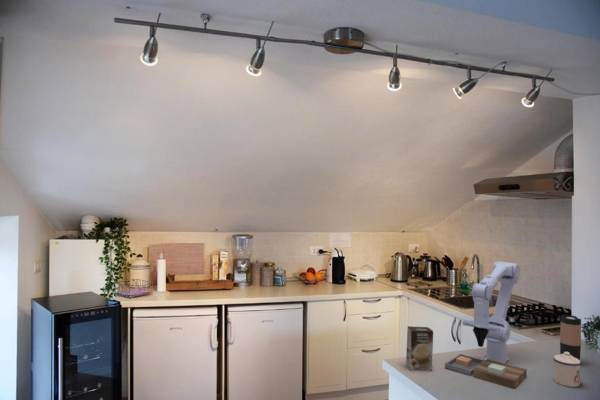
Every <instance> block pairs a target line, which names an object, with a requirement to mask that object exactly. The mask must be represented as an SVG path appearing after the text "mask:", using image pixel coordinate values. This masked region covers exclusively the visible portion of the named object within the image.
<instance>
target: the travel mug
mask: <svg viewBox="0 0 600 400" xmlns="http://www.w3.org/2000/svg"><path fill="white" fill-rule="evenodd" d="M559 327H560V328H559V329H560V330H559V331H560V332H559V333H560V334H559V335H560V336H559V349H560V350H559V355H560V354H564V352H569V353H570V355H571V356H573V357H574V358H577V359H578V360H580V361H581V348H582V347H581V345H582V318H579V317H577V316H576V315H571V314H561V315H560V326H559Z"/></svg>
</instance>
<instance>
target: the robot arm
mask: <svg viewBox="0 0 600 400" xmlns="http://www.w3.org/2000/svg"><path fill="white" fill-rule="evenodd" d="M492 267H493V268H492V272H491V273H490V274H487V275H485V277H483V278H482V280H480V282H479V283H475V284H473V285H472V288H471V295H472V301H473V320H467V319H464V320H462V326H467V327H470V328H471V327H472V328H473V329H472V332H473V334H474V336H475V338H476V342H477V346H478V347H480V348H483V347H484V345H485V341H486V356H485V357H483V359H482V360H483V361H485V360H486V359H490V360H494V361H498V362H501V363H505V364H507V362H508V361H509V360H510V358H509V357H507V355H508V354H507V352H508V348H507V347H508V346H507V342H509V340H510V337H511V325H510V323H509V322H508V321H507V320H506V317H507V314H508V309H509V305H510V300H511V298H512V292H513V288H514V285H516V284H518V281H519V278H520V275H521V267H520V264H519V263H517V262H516V263H515V262H506V261H498V260H496V261H495V262H494V263H493V266H492ZM498 283H500V287H499V292H498V295H497V299H496V302H495V307H494V311H493V314H492V316H491V317H490V300H491V298H492V297H493V293H494V290H495V289H496V287H497V286H498Z"/></svg>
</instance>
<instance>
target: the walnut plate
mask: <svg viewBox="0 0 600 400" xmlns="http://www.w3.org/2000/svg"><path fill="white" fill-rule="evenodd" d="M483 361H484V360H483ZM492 363H493V364H497V365H501V366H504V367H506V372H505V373H504V374H503V375H502V376H501V375H497V374H494V373H490V372H488V366H489V365H491V364H492ZM472 377H473V378H476V379H480V380H483V381H486V382H490V383H493V384H496V385H499V386H502V387H506V388H508V389H512V390H513V389H514V390H515V389H516V388H517V387H518V386H519V385H520V384H521V383H522V382H523V381H524V380H525V379H526V378H527V368H524V367H521V366H520V367H519V366H516V365H512V364H509V363H501V362H498V361H494V360H490V359H486V360H485V361H484V362H482V363H481V364H480V365H478V366H477V367H476V368H474V369H473V375H472Z"/></svg>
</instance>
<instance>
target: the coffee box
mask: <svg viewBox="0 0 600 400" xmlns="http://www.w3.org/2000/svg"><path fill="white" fill-rule="evenodd" d="M406 329H407V331H406V332H407V334H406V335H407V336H406V357H405V359H406V360H405V364H406V366H407V368H408V369H409V370H411V371H432V370H433V351H434V346H433V345H434V330H432V328H430V327H428V326H407V328H406Z"/></svg>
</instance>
